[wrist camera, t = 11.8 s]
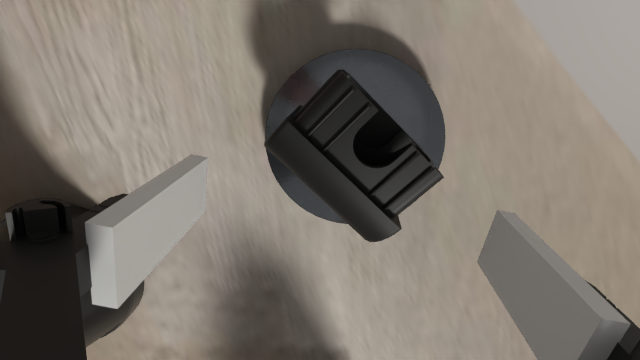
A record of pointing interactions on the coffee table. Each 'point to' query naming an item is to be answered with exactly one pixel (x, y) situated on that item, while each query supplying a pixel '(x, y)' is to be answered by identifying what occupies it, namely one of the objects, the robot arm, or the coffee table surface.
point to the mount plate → (383, 86)
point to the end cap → (354, 157)
